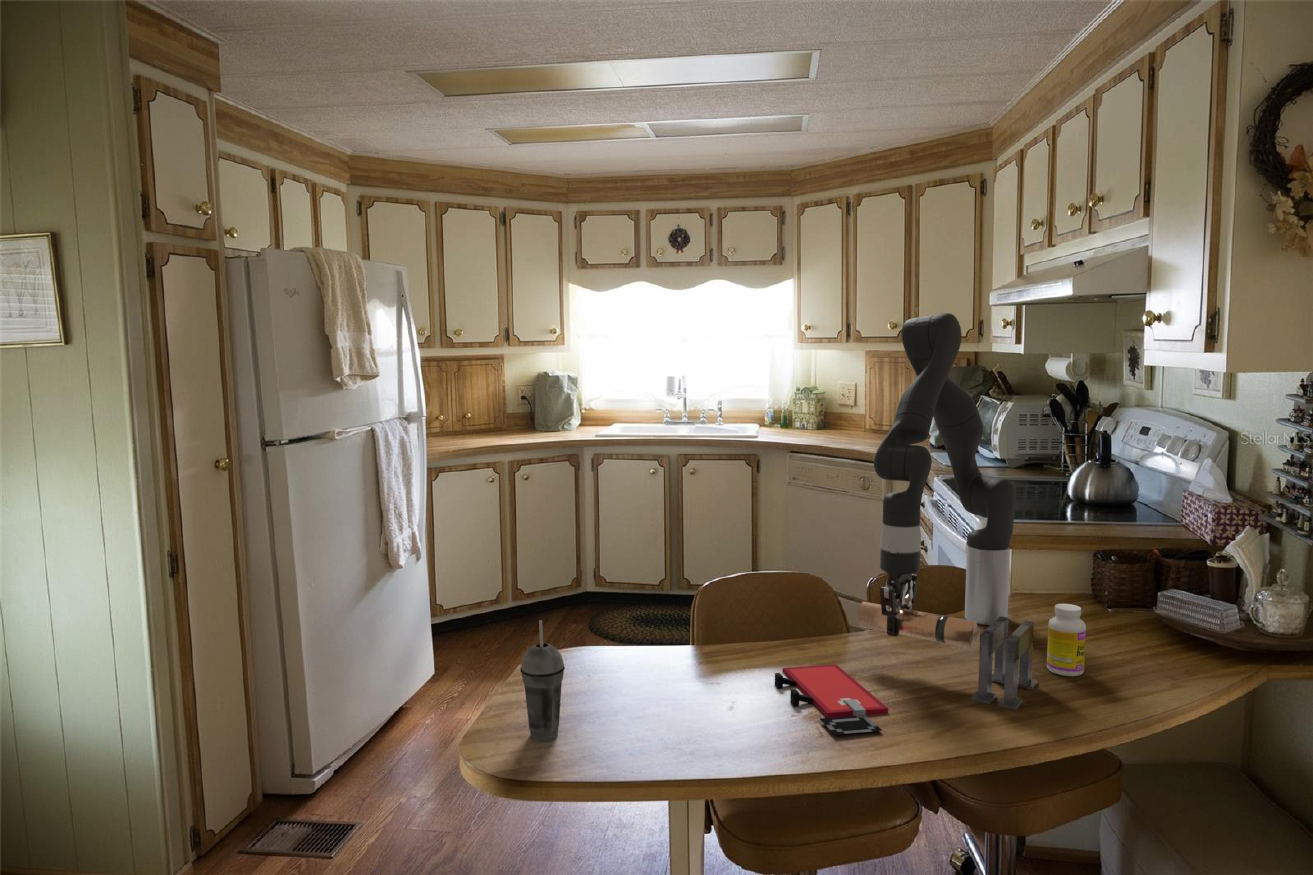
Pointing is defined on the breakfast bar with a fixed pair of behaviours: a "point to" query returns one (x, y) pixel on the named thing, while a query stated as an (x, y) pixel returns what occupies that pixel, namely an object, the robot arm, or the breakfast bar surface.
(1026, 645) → the metal stand
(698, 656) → the breakfast bar surface
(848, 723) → the red board with handle
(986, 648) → the metal stand
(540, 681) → the beverage cup
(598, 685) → the breakfast bar surface
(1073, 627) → the supplement bottle
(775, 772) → the breakfast bar surface
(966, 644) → the tube
